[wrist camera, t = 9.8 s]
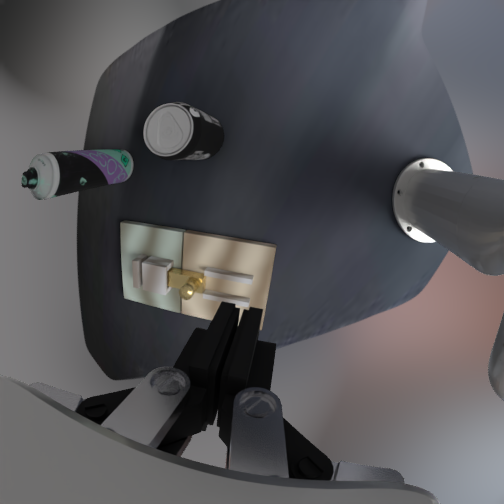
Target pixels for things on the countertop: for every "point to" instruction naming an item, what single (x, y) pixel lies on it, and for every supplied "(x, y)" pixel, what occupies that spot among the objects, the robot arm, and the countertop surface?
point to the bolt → (186, 282)
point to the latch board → (194, 268)
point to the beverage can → (182, 133)
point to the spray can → (76, 171)
